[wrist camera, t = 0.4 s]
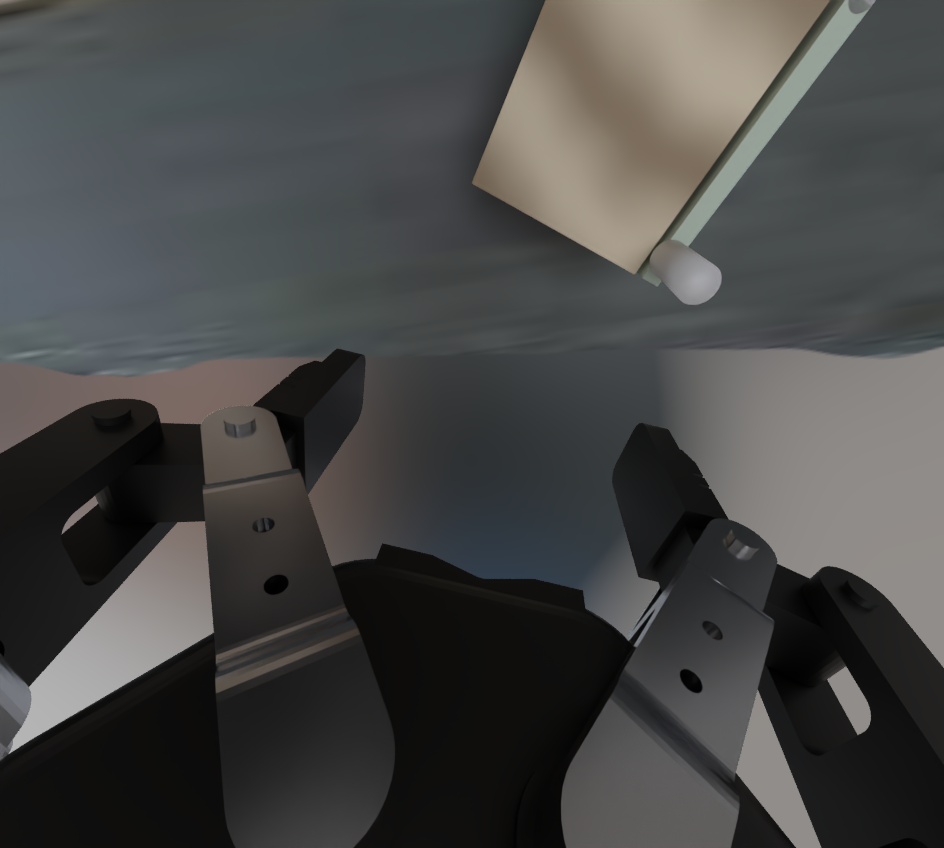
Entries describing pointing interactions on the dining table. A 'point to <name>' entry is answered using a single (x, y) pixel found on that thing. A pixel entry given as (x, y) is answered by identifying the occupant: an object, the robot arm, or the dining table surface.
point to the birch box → (632, 111)
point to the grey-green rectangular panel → (745, 155)
